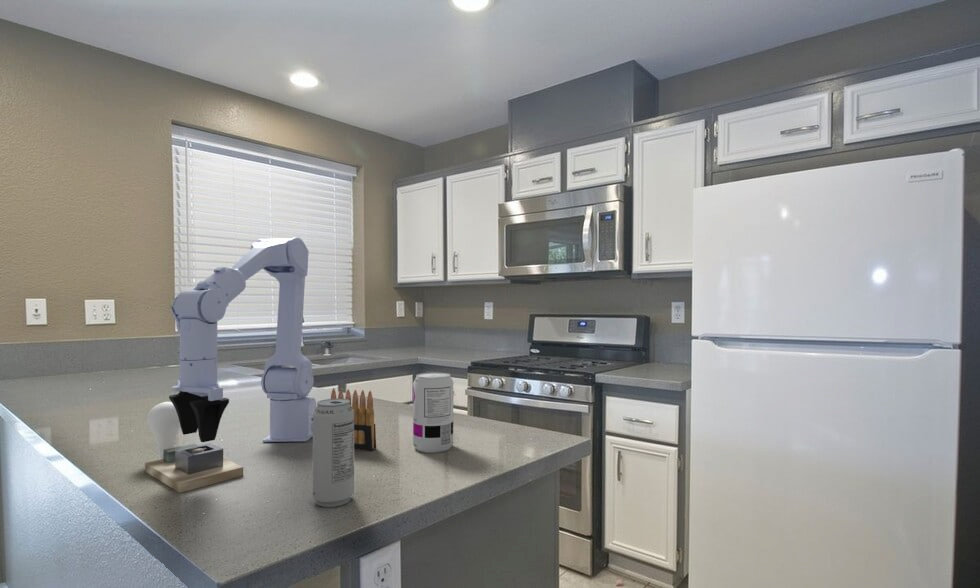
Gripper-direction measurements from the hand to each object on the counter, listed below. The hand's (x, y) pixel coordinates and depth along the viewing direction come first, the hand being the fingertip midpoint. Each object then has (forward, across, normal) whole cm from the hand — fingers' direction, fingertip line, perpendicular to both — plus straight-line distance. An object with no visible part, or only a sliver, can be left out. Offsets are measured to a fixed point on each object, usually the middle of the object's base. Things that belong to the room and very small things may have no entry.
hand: (198, 437), depth 88 cm
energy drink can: (+7, +28, +8) cm, 30 cm away
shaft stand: (+7, -2, 0) cm, 7 cm away
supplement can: (+7, +20, +37) cm, 43 cm away
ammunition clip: (+7, +6, +27) cm, 29 cm away
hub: (+5, 0, 0) cm, 5 cm away
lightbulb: (+7, -14, 0) cm, 16 cm away
